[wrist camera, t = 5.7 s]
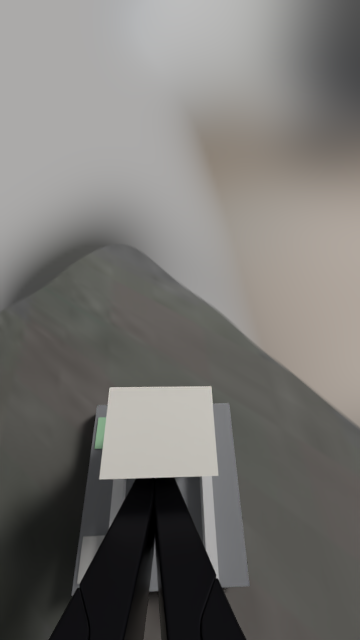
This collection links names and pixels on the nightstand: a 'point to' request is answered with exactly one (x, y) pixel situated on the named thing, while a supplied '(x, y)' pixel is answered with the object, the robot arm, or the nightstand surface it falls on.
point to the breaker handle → (159, 433)
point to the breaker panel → (200, 497)
